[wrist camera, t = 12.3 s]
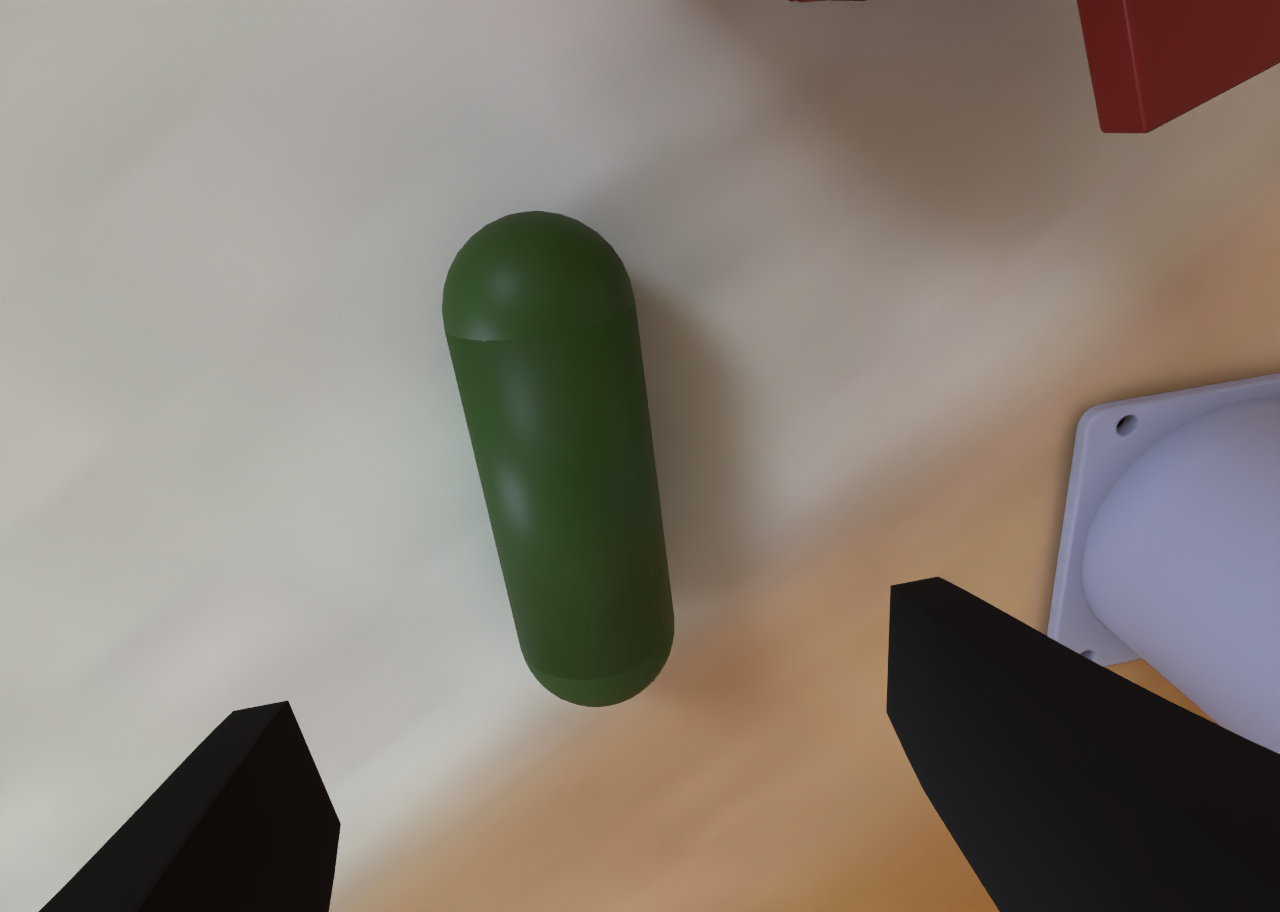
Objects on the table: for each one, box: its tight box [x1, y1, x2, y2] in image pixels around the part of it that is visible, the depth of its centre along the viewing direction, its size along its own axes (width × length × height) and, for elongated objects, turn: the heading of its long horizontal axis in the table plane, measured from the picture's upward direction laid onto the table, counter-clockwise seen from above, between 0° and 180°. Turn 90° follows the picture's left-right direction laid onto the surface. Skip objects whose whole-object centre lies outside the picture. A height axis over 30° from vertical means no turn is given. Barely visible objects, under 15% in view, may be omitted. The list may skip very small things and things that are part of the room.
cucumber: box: [442, 211, 674, 707], centre depth 15 cm, size 10×3×3 cm, turn 7°
